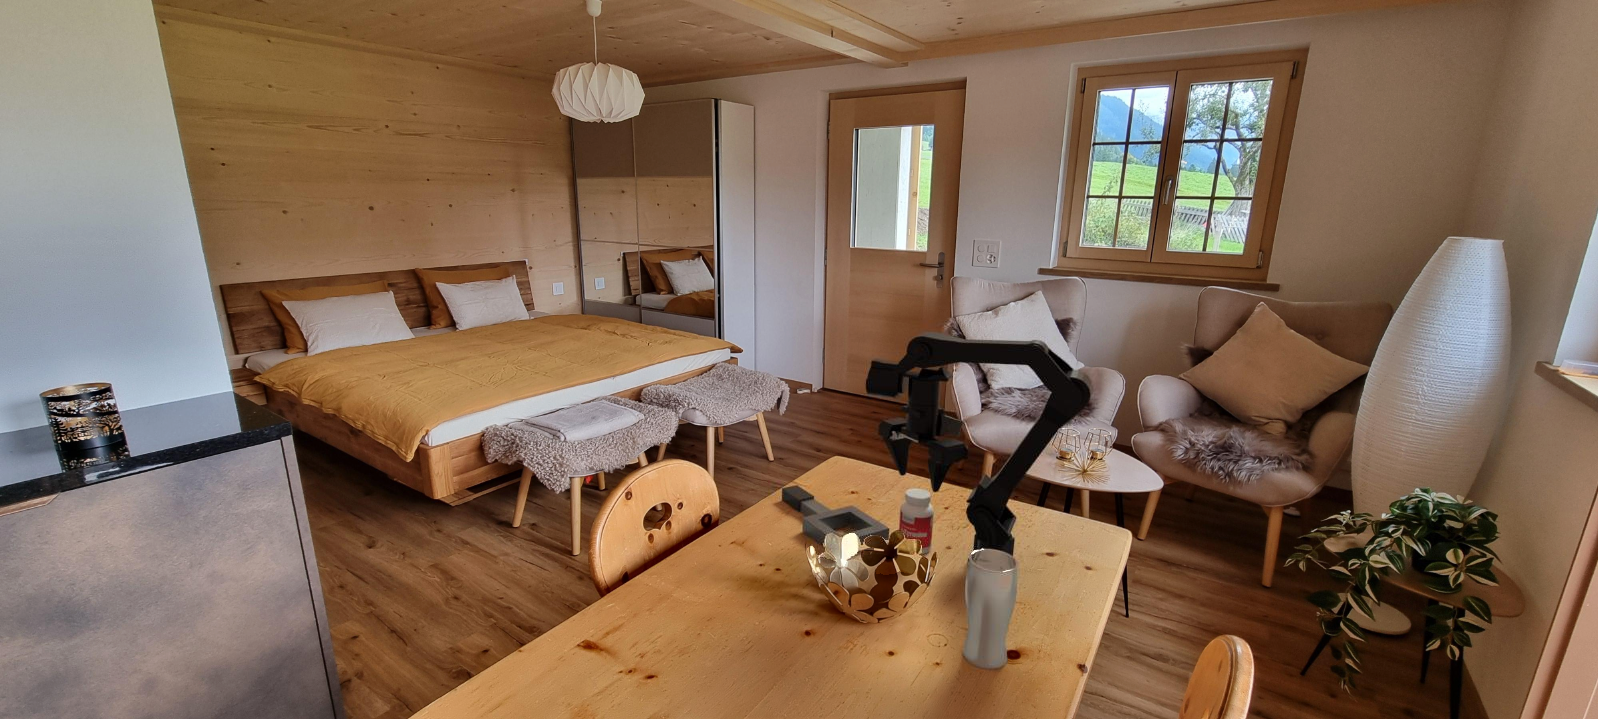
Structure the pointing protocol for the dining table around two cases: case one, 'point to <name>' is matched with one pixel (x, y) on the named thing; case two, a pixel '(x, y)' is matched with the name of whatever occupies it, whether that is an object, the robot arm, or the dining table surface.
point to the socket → (830, 517)
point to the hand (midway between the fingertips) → (918, 483)
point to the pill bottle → (917, 517)
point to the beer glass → (989, 606)
